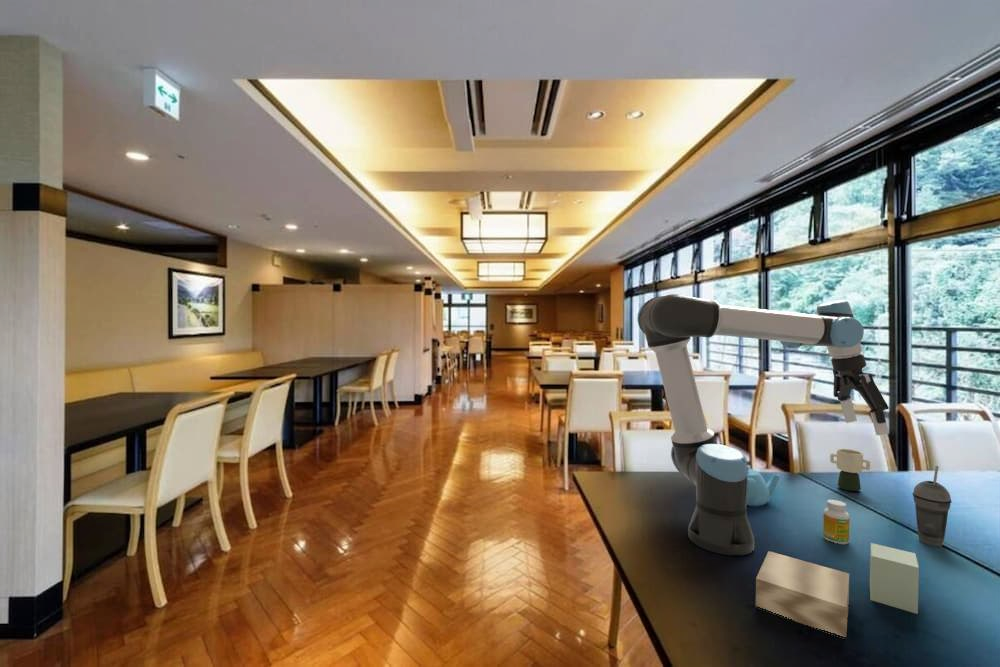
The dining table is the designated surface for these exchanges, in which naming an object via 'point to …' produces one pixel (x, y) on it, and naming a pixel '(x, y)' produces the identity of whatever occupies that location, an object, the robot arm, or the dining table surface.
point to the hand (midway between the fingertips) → (866, 427)
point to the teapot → (759, 488)
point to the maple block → (804, 592)
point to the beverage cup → (931, 511)
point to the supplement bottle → (836, 522)
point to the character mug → (849, 468)
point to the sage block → (894, 577)
